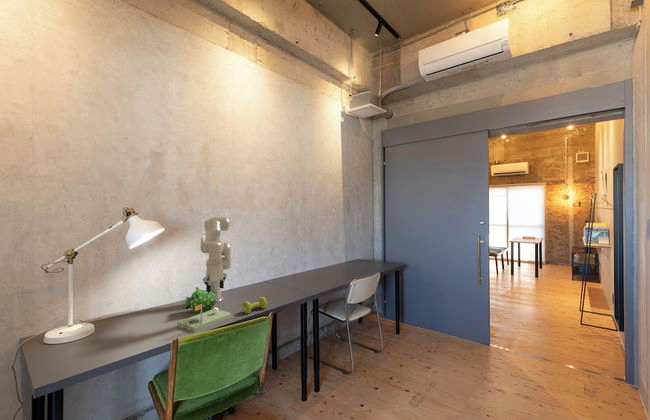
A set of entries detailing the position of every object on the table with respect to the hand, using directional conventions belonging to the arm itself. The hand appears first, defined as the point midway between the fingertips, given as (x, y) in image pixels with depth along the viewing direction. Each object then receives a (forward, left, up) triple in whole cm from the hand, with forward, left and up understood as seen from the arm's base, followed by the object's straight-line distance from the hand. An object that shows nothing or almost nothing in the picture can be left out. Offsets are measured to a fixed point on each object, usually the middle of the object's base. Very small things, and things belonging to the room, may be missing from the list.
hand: (215, 289), depth 183 cm
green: (0, -7, -18) cm, 19 cm away
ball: (0, 0, -13) cm, 13 cm away
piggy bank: (-18, +3, -18) cm, 26 cm away
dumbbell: (+11, +23, -18) cm, 31 cm away
